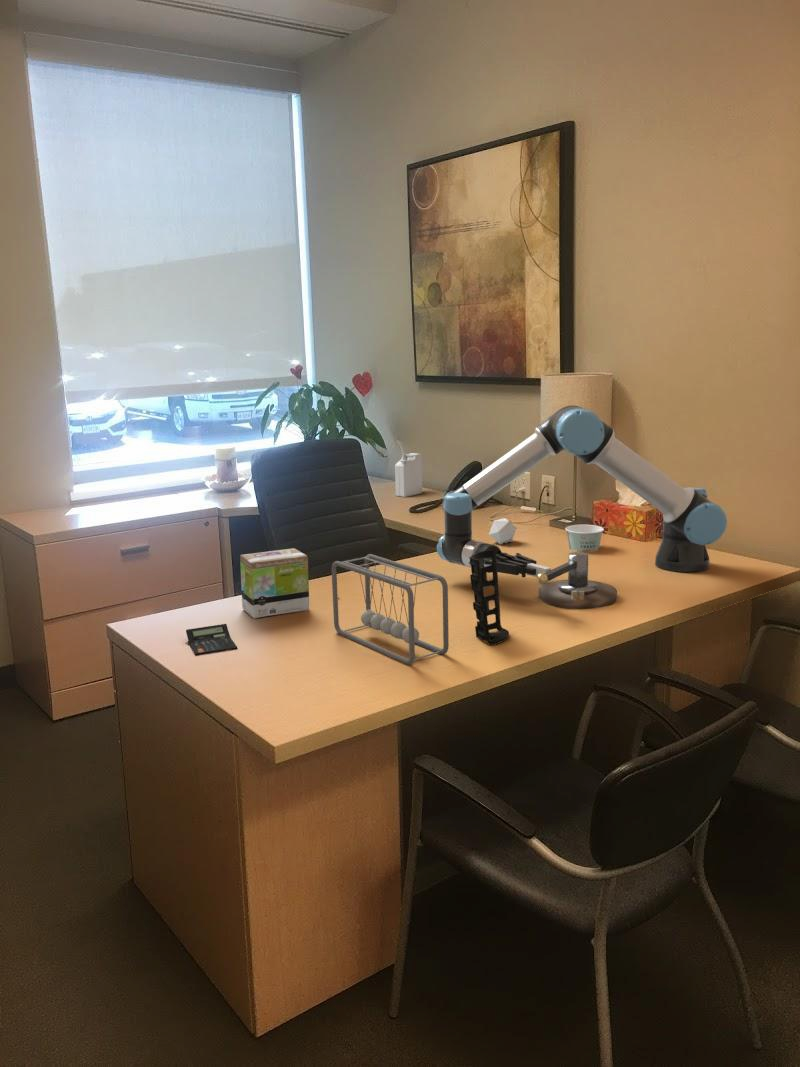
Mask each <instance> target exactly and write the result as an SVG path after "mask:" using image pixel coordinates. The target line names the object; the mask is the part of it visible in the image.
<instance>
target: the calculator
mask: <svg viewBox="0 0 800 1067" xmlns="http://www.w3.org/2000/svg"><path fill="white" fill-rule="evenodd" d="M185 633H186V637H187V641H188V644H189V647H190V648H191V650H192V652H193V654H194V655H195V656H200V655H207V654H208V655H209V654H215V653H220V652H226V651H233V650H237V649H238V646H237V645H236V643H235V641H234V640H233V639H232V637H231V635H230V631H229V627H228V625H227V623H222V624H221V623H220V624H215V625H208V626H202V627H196V628H189V629H186V630H185Z"/></svg>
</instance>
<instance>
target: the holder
mask: <svg viewBox="0 0 800 1067" xmlns="http://www.w3.org/2000/svg"><path fill="white" fill-rule="evenodd" d="M485 557H491V560H492V564H491V565H490V566H486V567H481V568H480V563H479V559H480V558H485ZM469 558H470V562H469V564H470V565H471V570H470V571H471V574H470V585H471V591H472V592H473V598H474V602H472V608H473V610H474V612H475V617H476V619H477V621H476V625H475V626H474V628H475V637H476V638H477V637H478V639H479V640H481V641H483V642H486V643H487V644H488V645H489V646H494V645H497V644H499V643H502V642H503V641H505V640H506V639H508V638H509V637H510V631H509V630H508V629H506V628H504V627H502V625H501V624H502V623H501V606H500V604H501V603H500V591H499V577H498V576H499V575H498V573H499V572H497V559H496V550H494V549H491V550H485V551H481V552H477V553H475V554H474V555H472V556H471V557H469ZM488 571H491V572H492V573H491V574H492V579H490V580H488V577H487V575H488ZM488 587H493V593H492V594H488V595H485V593H484V588H488ZM490 601H494V608H490ZM491 615H493V616H494V615H495V621H494V622H492V623H489V621H488V616H491ZM492 630H497V632H496V631H495V632H494V631H493V632H492ZM490 631H491V632H490Z"/></svg>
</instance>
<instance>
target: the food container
mask: <svg viewBox="0 0 800 1067" xmlns="http://www.w3.org/2000/svg"><path fill="white" fill-rule="evenodd" d="M564 529H565V530H566V533H567V541H568V548H569V549H570V550H571V549H572V550H571V551H573V550H577V551H576V552H579V551H592V552H596V551H595V550H597V551H599V550H598V549H600V545H601V541H602V535H603V532H604V530H605V528H604V527H603V526H600V525H593V524H573V525H568V526H566V527H565V528H564Z"/></svg>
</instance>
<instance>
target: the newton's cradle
mask: <svg viewBox="0 0 800 1067" xmlns="http://www.w3.org/2000/svg"><path fill="white" fill-rule="evenodd" d="M360 560H364V562H363V563H364V564H360V565H357V564H354V563H352V562H355V561H360ZM372 563H373V564H374V567H373V568H372V567H370V565H371V564H372ZM377 564H379V565H381V566H379V568H382V567H383V566H384V571H379V572H378V571H376V569H377V568H378V566H377ZM363 565H364V567H363ZM376 566H377V567H376ZM337 567H339V568H343V569H346V570H348V571H352V572H354V573H357V574H359V578H360V582H361V588H362V593H363V597H364V602H365V610H364V611H363V612H362V613H361V615H360V621H361V623H362V625H359V626H355V627H352V628H348V629H344V630H343V629H341V626H340V623H339V622H340V620H339V602H338V601H339V598H338V577H337V576H338V575H337V574H338V573H337V572H338V571H337V569H338V568H337ZM386 567H389V568H390V569H388V570H386V569H387V568H386ZM391 568H392V569H391ZM397 570H398V571H402V572H403V574H405V576H404V578H403V579H402V578H401V579H399V578H397V577H396V575H401V574H402V572H401V573H397ZM388 571H394V575H393V574H392V575H387V574H386V572H388ZM407 573H408V574H410V575H413V576H409V577H407ZM361 575H363V576H364V584H365V585H364V586H365V587H364V586H363V581H362V576H361ZM393 576H394V577H393ZM413 577H416V580H415V582H414V583H411V582H408V581H406V579H409V578H413ZM418 577H419V578H423V579H425V580H421V581H418ZM371 579H373V580H372V581H371ZM374 580H378V581H379V586H380V591H381V596H380V602H383V605H384V612H385V616H384V614H382V613H381V611H379V612H378V611H377V605H376V600H375V596H374V585H373V584H375V583H374ZM432 581H434V582H435V581H438V582H440V584H441V586H442V627H443V628H442V637H443V640H442V642H443V646H442V647H443V648H440V647H437V646H435V645H432V644H430V643H428V642H425V641H423V640H420V639H419V638H420V632H419V630H418V629H417V628H416V627H415V612H414V610H415V609H414V608H415V604H416V603H415V601H416V595H414V594H416V593H417V585H421V584H426V583H428V582H432ZM381 582H382V584H381ZM385 583H387V584H388V585H389V587H390V593H391V601H390V606H393V608H394V614H395V619H396V620H395V619H393V618H392V617H391V615H389V616H388V614H387V608H386V605H385V604H386V603H385V600H384V594H383V591H384V587H382V586H384V584H385ZM331 584H332V585H331V586H332V587H331V588H332V590H331V591H332V607H333V608H332V609H333V626H334V629H335V631H336V632H337V634H339V635H340V636H343V637H345V638H347V639H349V640H352V641H354V642H356V643H359V644H360V645H362V646H365V647H367V648H369V649H371V650H374V651H376V652H378V653H380V654H383V655H384V656H387V657H389V658H391V659H394V660H396V661H398V662H400V663H403V664H404V665H408V666H409V665H412V664H413V663H414V662H415V661H418V660H421V659H425V658H427V657H431V656H434V655H437V654H439V655H445V654H447V653H448V652H449V641H450V640H449V637H450V636H449V588H448V582H447V580H446V578H445V577H443V576H442V575H439V574H436V573H433V572H431V571H428V570H423V569H421V568H417V567H414V566H410V565H407V564H405V563H401V562H398V561H394V560H391V559H388V558H385V557H382V556H378V555H375V554H372V553H368V554H367V555H366V556H363V557H360V558H353V559H347V560H343V561H339V560H336V561H334V562H333V563H332V564H331ZM412 586H415V590H414V593H413V589H412V588H411V587H412ZM395 587H397V588H400V592H401V596H402V601H401V605H403V606H400V607H401V608H400V613H402V612H403V607H404V611H405V615H406V620H407V625H406V623H404V622H401V620H402V619H401V618H402V614H400V616H399V620H398V617H397V611H396V607H395V602H394V596H393V595H394V589H395ZM364 588H365V590H364ZM364 591H365V592H364ZM405 591H406V593H407V605H408V606H407V608H408V609H406V604H405V600H404V595H405ZM372 599H373V602H374V607H375V611H373V610H372V601H371V600H372ZM379 604H380V606H379V610H381V608H382V603H379ZM392 604H393V605H392ZM407 610H408V612H407ZM391 612H392V607H390V610H389V614H391ZM364 627H371V628H372V629H373V630H375V631H381V632H382V633H383V634H385V635H391V636H392V637H393V638H395V639H396V640H400V639H402V640H403V641H404V642H405V643H406V644H408V647H409V648H408V649H409V650H408V651H409V652H408V653H409V656H408V658H406V657H404V656H401V655H399V654H397V653H395V652H393V651H390V650H388V649H386V648H383V647H381V646H380V645H377V644H375V643H372V642H369V641H368V640H366V639H363V638H361V637H359V636H356V635H355V634H352V633H350V631H353V630H357V629H361V628H364ZM415 645H418V646H420V647H422V648H425V649H428V650H429V651H432V653H429V654H425V655H421V656H418V657H416V652H415V648H416V646H415ZM415 657H416V658H415Z"/></svg>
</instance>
